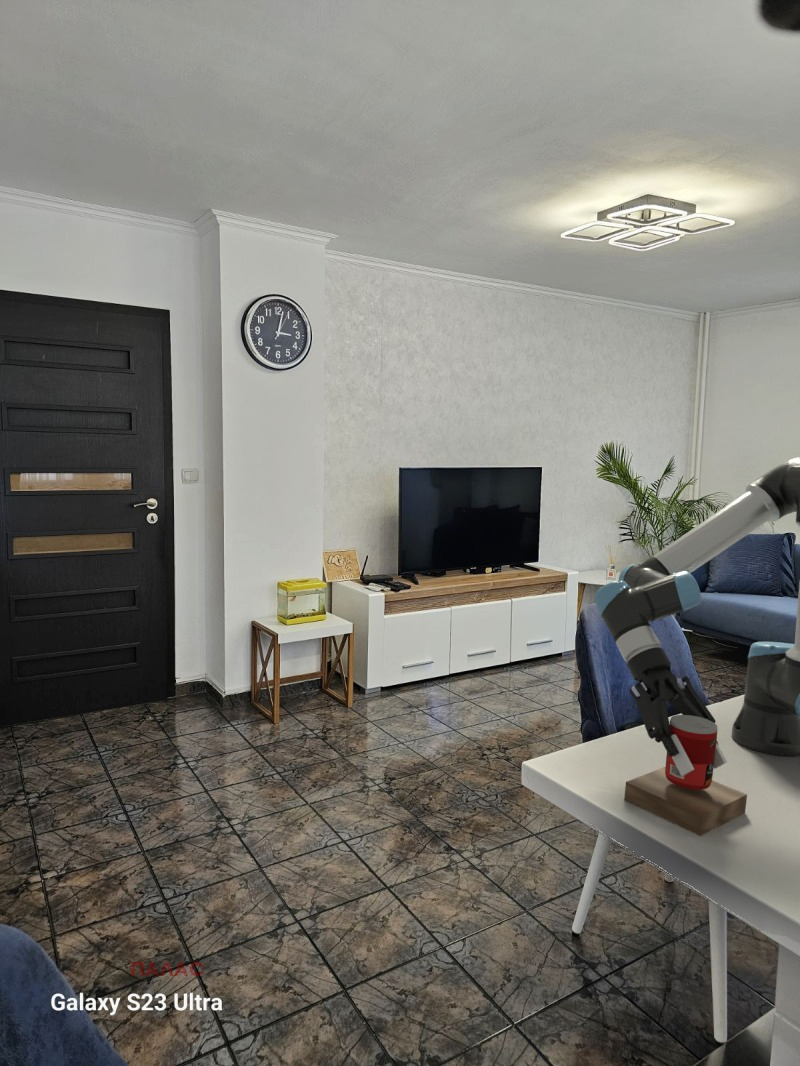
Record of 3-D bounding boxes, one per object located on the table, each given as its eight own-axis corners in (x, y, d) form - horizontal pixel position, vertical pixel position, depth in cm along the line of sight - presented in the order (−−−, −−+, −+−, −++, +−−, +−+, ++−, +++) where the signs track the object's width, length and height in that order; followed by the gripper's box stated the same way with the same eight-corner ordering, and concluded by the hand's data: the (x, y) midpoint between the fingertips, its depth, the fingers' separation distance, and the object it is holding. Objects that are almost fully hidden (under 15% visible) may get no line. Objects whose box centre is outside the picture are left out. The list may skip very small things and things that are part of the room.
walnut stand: (670, 781, 147) (671, 764, 146) (745, 812, 135) (747, 794, 135) (624, 800, 137) (625, 781, 137) (700, 836, 126) (702, 816, 125)
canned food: (715, 793, 131) (722, 732, 130) (667, 786, 133) (673, 726, 131) (707, 775, 138) (713, 717, 137) (661, 769, 140) (667, 712, 139)
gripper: (669, 660, 152) (729, 768, 140) (592, 669, 142) (649, 786, 130) (693, 641, 147) (757, 751, 135) (615, 649, 137) (676, 769, 125)
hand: (704, 768), depth 132 cm, fingers closed on canned food, 8 cm apart
